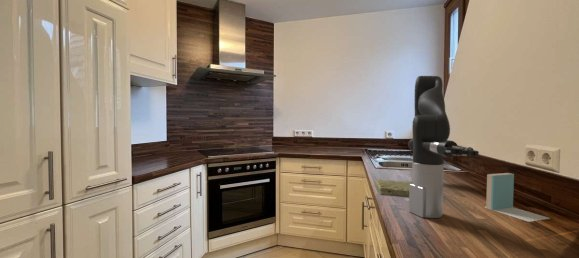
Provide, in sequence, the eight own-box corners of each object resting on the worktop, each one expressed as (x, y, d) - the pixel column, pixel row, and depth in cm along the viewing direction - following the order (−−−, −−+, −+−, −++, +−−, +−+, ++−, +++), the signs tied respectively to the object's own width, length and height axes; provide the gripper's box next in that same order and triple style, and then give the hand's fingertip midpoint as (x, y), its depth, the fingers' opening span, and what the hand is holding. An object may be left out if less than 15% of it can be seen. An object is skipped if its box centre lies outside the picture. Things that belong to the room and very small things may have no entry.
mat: (528, 223, 81) (528, 221, 81) (483, 208, 94) (483, 207, 94) (550, 219, 84) (550, 218, 84) (503, 205, 97) (503, 204, 97)
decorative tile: (374, 185, 128) (374, 178, 128) (418, 188, 124) (418, 180, 124) (379, 196, 110) (379, 188, 110) (431, 200, 106) (431, 191, 106)
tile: (492, 210, 91) (493, 175, 91) (486, 207, 94) (487, 174, 93) (512, 207, 94) (514, 174, 94) (506, 205, 96) (507, 172, 96)
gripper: (430, 140, 118) (462, 144, 101) (456, 139, 121) (491, 143, 104) (430, 156, 119) (462, 164, 102) (455, 155, 121) (490, 162, 104)
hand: (477, 153), depth 103 cm, fingers closed
